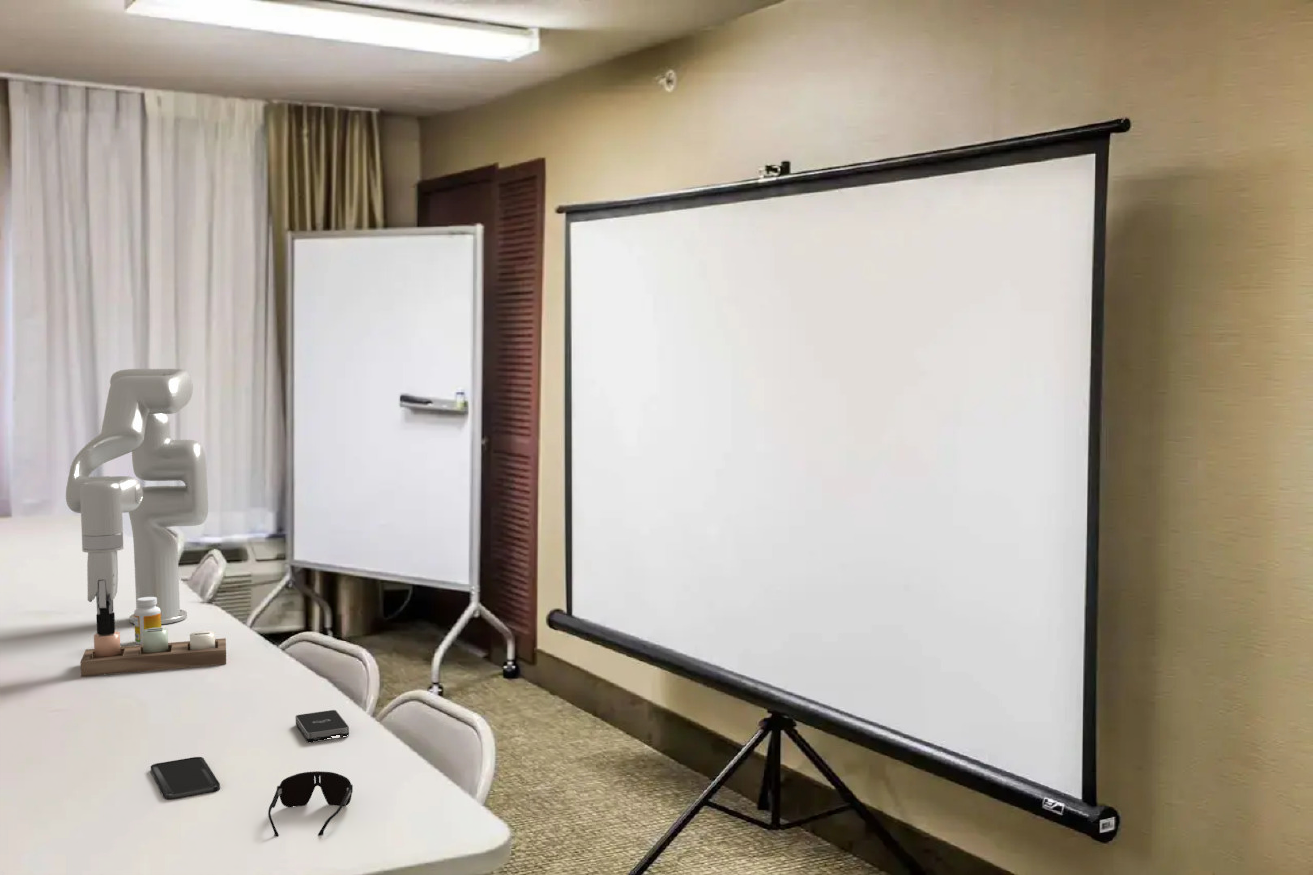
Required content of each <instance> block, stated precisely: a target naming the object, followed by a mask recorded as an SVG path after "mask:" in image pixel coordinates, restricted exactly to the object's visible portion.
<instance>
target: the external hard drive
mask: <svg viewBox="0 0 1313 875" xmlns="http://www.w3.org/2000/svg"><path fill="white" fill-rule="evenodd" d="M295 725H296V727H297V728H298V729H299V732H301V735H302V736H303V737H304V739H305V740H306V742H307V741H308V742H307V743H309V742H311V743H314V742H313V741H318V740H324V739H327V738H332V737H331V736H336V735H340V737H343V736H347V735H348V736H349V734H350V728H349V725H348V724H347V722H346V720H344V718H343V717H342V716H341V715H340V713H339V712H338V711H337V710H335V709H331V710H322V711H316V712H315V711H314V712H308V713H303V714H302V713H301V714H296V715H295ZM324 741H325V740H324ZM318 742H319V741H318Z"/></svg>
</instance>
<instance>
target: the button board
mask: <svg viewBox="0 0 1313 875" xmlns="http://www.w3.org/2000/svg"><path fill="white" fill-rule="evenodd" d="M120 651H121V653H119V654H117V655H113V656H106V657H99V656H95V654H94V648H90V649H89V648H87V649H85V650H84V653H83V655H82V657H81V660H80V663H79V664H80V677H93V676H104V674H106V675H115V674H116V675H117V674H127V673H128V674H129V673H140V672H150V671H153V672H154V671H162V670H163V671H164V670H173V669H183V668H184V669H185V668H197V667H198V668H199V667H205V666H206V667H210V666H219V665H226V664H227V639H226V637H224V638H215V648H211V649H199V650H190V640H187V641H174V642H168V649H167V650H165V651H162V652H154V653H148V652H143V645H139V644H137V645H128V646H127V645H125V646H120Z"/></svg>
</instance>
